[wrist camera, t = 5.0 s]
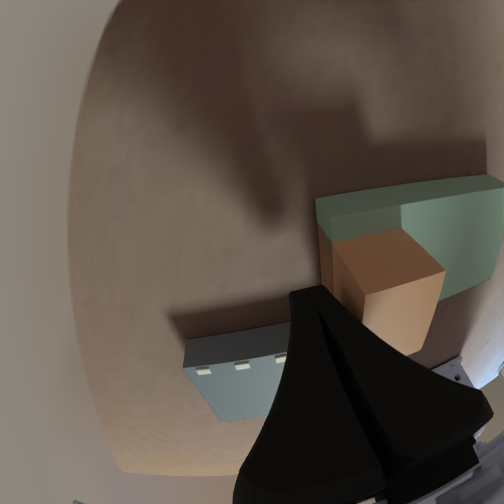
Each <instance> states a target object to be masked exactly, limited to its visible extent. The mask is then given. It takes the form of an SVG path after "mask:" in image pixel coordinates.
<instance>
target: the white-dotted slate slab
mask: <svg viewBox="0 0 504 504" xmlns="http://www.w3.org/2000/svg"><path fill="white" fill-rule="evenodd" d="M290 326H291V321H289V322H285V323H280V324H275V325H270V326H265V327H260V328H254V329H249V330H244V331H238V332H232V333H226V334H220V335H214V336H207V337H201V338H194V339H186V346H185V355H184V363H183V369H184V370H185V372H186V373H187V375H188V376H189V378H190V379H191V381H192V382H193V384H194V385H195V387H196V388H197V390H198V391H199V393H200V394H201V395H202V397H203V398H204V400H205V401H206V402H207V404H208V405H209V406H210V408H211V409H212V411H213V412H214V413H215V415H216V416H217V417H218V419H219V420H220V421H221V422H225V421H235V420H243V419H251V418H258V417H265V416H268V414H269V411H270V409H271V406H272V403H273V401H274V398H275V395H276V392H277V389H278V386H279V383H280V379H281V376H282V372H283V368H284V364H285V360H286V355H287V349H288V343H289V337H290Z"/></svg>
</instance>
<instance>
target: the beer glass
mask: <svg viewBox="0 0 504 504" xmlns="http://www.w3.org/2000/svg"><path fill="white" fill-rule="evenodd" d="M497 373H498V374H499V375H500V376H501V377H502V378H503V379H504V363H503V364H502V365H501V366H500V368H499V369H498V372H497Z"/></svg>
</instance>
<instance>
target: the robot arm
mask: <svg viewBox="0 0 504 504" xmlns="http://www.w3.org/2000/svg"><path fill="white" fill-rule="evenodd" d="M289 301H290V308H291V326H290V337H289V343H288V349H287V355H286V360H285V364H284V368H283V372H282V376H281V379H280V383H279V386H278V389H277V392H276V395H275V398H274V401H273V403H272V406H271V409H270V411H269V414H268V416H267V418H266V420H265V423H264V425H263V427H262V429H261V431H260V433H259V436H258V438H257V440H256V441H255V443H254V445H253V447H252V449H251V450H250V452H249V454H248V456H247V457H246V459H245V461H244V462H243V464H242V466H241V468H240V470H239V474H238V477H237V480H236V483H235V487H234V492H233V504H358V503H361V502H364V501H368V500H370V499H373V498H375V501H376V503H373V504H504V431H503V432H501V433H500V434H499V435H498V436H496V437H495V438H494V439H493V440H491V441H490V442H489V443H487V442H482V441H478V442H477V443H476V440H475V439H476V438H477V437H478V436H479V435H480V434H481V433H482V431H483V430H484V427H485V424H486V423H487V422H488V421H489V420H490V419H491V418H492V417H493V414H494V413H493V411H492V409H491V407H490V405H489V403H488V401H487V399H486V397H485V396H484V394H483V393H482V391H481V390H478V389H475V388H474V386H473V384H472V383H471V381H470V379H469V377H468V376H467V374H466V372H465V371H464V369H463V367H462V366H461V364H460V363H461V361H462V357H461V356H459V357H457V358H455V359H453V360H451V361H449V362H447V363H445V364H443V365H441V366H439V367H437V368H435V369H432V370H430V369H428V368H426V367H424V366H422V365H421V364H419V363H417V362H415V361H413V360H412V359H410V358H409V357H407V356H405V355H404V354H402V353H401V352H399V351H398V350H396V349H395V348H393V347H392V346H390V345H389V344H388V343H386V342H385V341H384V340H382V339H381V338H380V337H378V336H377V335H376V334H375V333H373V332H372V331H371V330H370V329H369V328H367V327H366V326H365V325H364V324H363V323H362V322H360V321H359V320H358V319H357V318H356V317H355V316H354V315H353V314H352V313H351V312H350V311H349V310H347V309H346V308H345V307H344V306H343V305H342V304H341V303H340V302H339V301H338V300H337V299H336V297H335V296H334V295H333V294H332V293H331V292H330V291H329V290H328V289H327V288H326V287H325V286H324V285H318V286H314V287H309V288H305V289H300V290H296V291H291V292H290V294H289ZM73 504H84V503H81V502H79V501H76V500H74V501H73Z"/></svg>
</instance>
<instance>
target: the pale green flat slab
mask: <svg viewBox="0 0 504 504" xmlns="http://www.w3.org/2000/svg"><path fill="white" fill-rule="evenodd" d="M315 206H316V216H317V227H318V239H319V251H320V266H321V283H322V285H324V286H325V287H326V288H327V289H328V290H329V291H330V292H331V293H332V294H333V295H334V296H335V297H336V299H337V300H338V301H339V302H340V303H341V304H342V305H343V306H344V307H345V308H346V309H347V310H349V311H350V312H351V313H352V314H353V315H354V316H355V317H356V318H357V319H358V320H359V321H360V322H362V323H363V324H364V325H365V326H366V327H367V328H369V329H370V330H371V331H372V332H373V333H375V334H376V335H377V336H378V337H380V338H381V339H382V340H384V341H385V342H386V343H388V344H389V345H390V346H392V347H393V348H395V349H396V350H398V351H399V352H401V353H402V354H404V355H405V356H407V355H410V354H412V353H415V352H417V351H420V350H421V349H422V346H423V343H424V341H425V338H426V335H427V333H428V330H429V327H430V324H431V321H432V318H433V315H434V312H435V309H436V306H437V302H438V301H440V300H443V299H445V298H448V297H450V296H453V295H455V294H457V293H460V292H462V291H465V290H467V289H469V288H472V287H474V286H476V285H478V284H480V283H483V282H485V281H487V280H489V279H490V278H491V275H492V272H493V269H494V266H495V262H496V259H497V255H498V252H499V248H500V244H501V240H502V236H503V232H504V182H502V181H500V180H498V179H496V178H494V177H492V176H490V175H488V174H484V175H474V176H464V177H455V178H446V179H438V180H430V181H422V182H415V183H407V184H400V185H393V186H387V187H380V188H373V189H367V190H361V191H355V192H349V193H343V194H337V195H331V196H325V197H320V198H315Z"/></svg>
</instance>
